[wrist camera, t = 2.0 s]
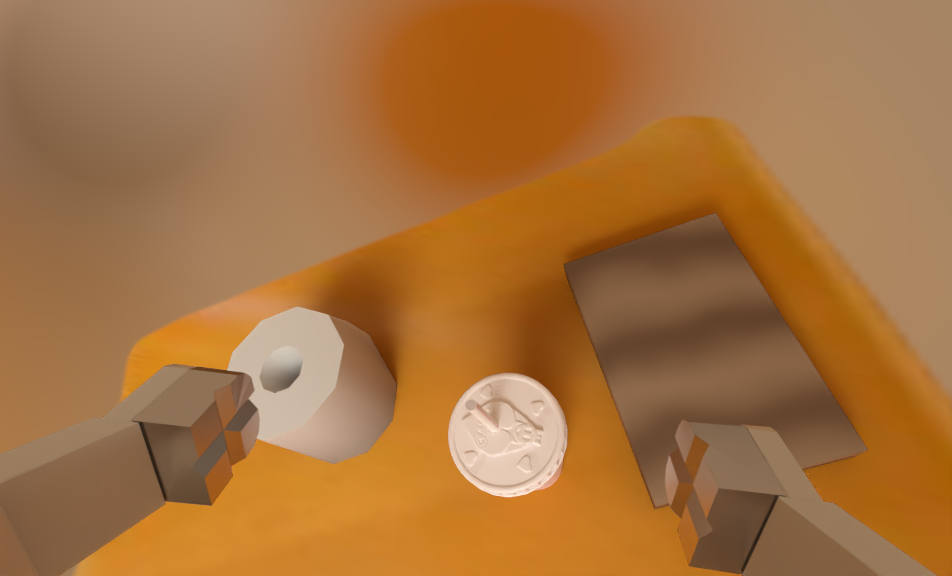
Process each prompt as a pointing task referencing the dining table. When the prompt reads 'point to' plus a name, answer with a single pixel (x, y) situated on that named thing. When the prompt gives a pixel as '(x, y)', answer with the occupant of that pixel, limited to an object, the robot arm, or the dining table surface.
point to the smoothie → (508, 435)
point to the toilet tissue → (317, 384)
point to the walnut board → (700, 349)
